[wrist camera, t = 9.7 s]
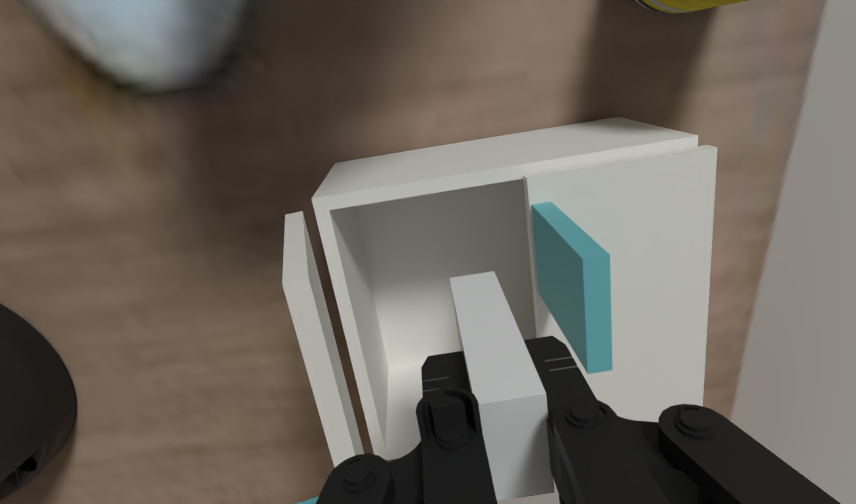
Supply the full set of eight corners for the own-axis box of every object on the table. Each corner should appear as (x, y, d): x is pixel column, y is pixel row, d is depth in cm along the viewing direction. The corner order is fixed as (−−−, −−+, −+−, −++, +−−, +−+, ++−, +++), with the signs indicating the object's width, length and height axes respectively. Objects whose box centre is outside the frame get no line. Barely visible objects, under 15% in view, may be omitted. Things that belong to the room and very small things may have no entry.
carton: (387, 399, 34) (384, 494, 26) (335, 162, 28) (311, 198, 20) (621, 361, 33) (684, 447, 26) (617, 116, 28) (698, 135, 20)
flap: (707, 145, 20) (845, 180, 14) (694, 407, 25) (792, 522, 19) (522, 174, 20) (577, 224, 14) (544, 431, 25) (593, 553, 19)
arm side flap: (365, 460, 25) (228, 503, 24) (302, 211, 20) (126, 248, 19) (394, 606, 18) (203, 678, 17) (308, 277, 13) (32, 343, 12)
